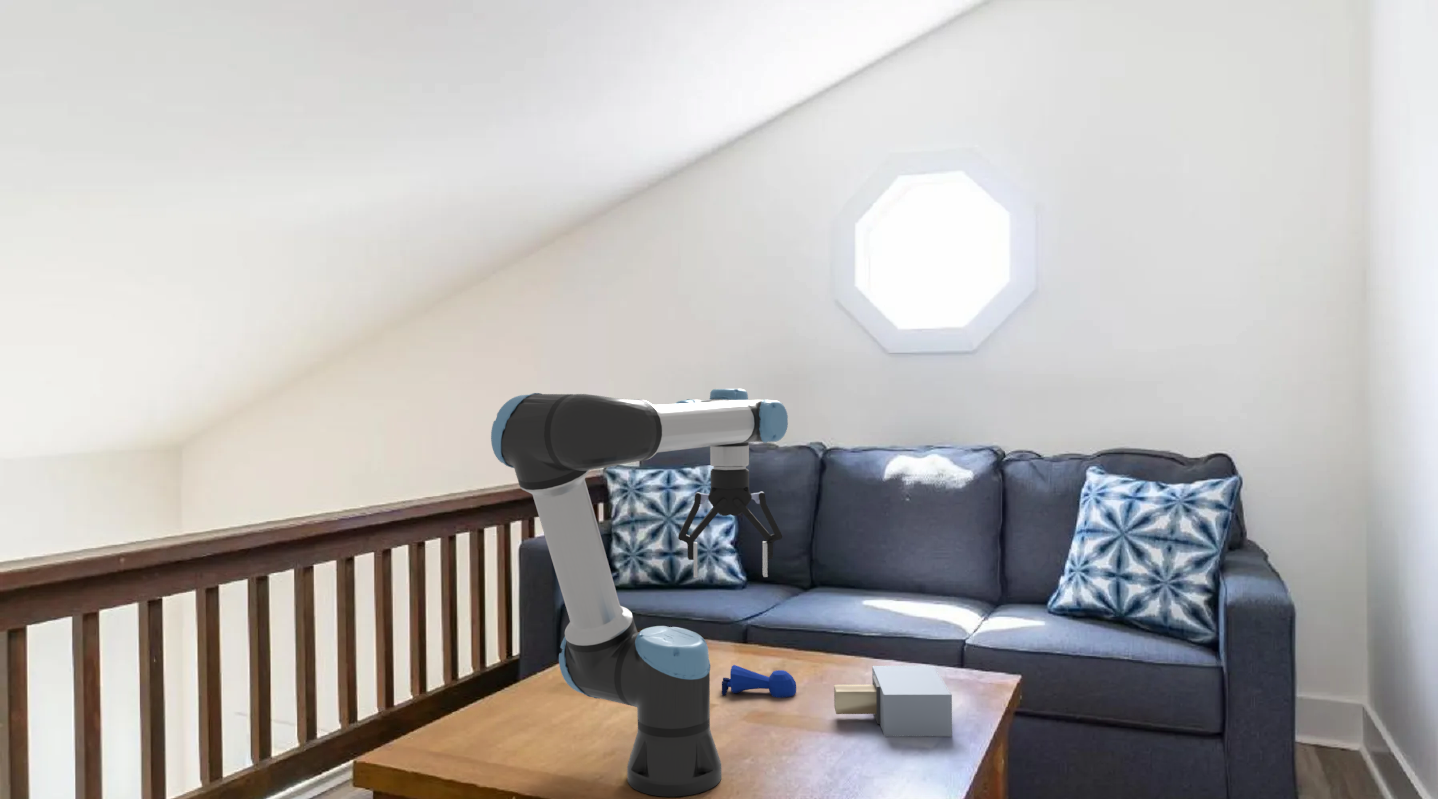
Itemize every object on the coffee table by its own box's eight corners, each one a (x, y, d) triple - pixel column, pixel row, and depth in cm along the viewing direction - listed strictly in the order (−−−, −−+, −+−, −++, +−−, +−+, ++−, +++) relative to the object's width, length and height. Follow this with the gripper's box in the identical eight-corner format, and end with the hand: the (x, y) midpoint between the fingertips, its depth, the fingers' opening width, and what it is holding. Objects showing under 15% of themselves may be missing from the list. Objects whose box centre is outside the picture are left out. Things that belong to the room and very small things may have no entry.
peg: (923, 714, 187) (922, 691, 187) (836, 714, 188) (835, 691, 187) (919, 706, 191) (919, 684, 191) (834, 706, 192) (834, 684, 192)
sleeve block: (952, 736, 180) (951, 694, 180) (880, 736, 180) (880, 694, 180) (934, 703, 198) (933, 665, 198) (869, 703, 198) (869, 665, 198)
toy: (721, 701, 204) (796, 699, 202) (719, 670, 204) (794, 669, 202) (725, 690, 210) (797, 689, 209) (723, 661, 210) (795, 659, 209)
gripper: (791, 465, 201) (792, 571, 202) (666, 466, 201) (667, 573, 201) (795, 468, 194) (795, 579, 194) (665, 469, 193) (665, 580, 194)
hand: (730, 576), depth 198 cm, fingers open, 13 cm apart
